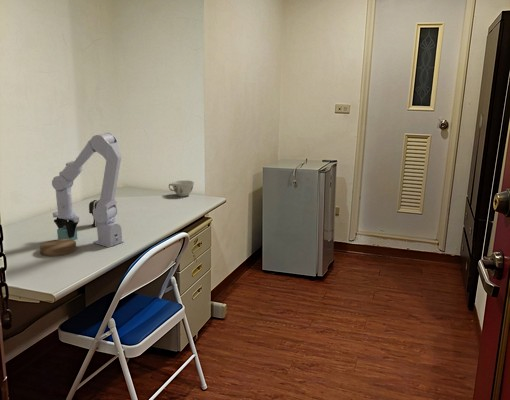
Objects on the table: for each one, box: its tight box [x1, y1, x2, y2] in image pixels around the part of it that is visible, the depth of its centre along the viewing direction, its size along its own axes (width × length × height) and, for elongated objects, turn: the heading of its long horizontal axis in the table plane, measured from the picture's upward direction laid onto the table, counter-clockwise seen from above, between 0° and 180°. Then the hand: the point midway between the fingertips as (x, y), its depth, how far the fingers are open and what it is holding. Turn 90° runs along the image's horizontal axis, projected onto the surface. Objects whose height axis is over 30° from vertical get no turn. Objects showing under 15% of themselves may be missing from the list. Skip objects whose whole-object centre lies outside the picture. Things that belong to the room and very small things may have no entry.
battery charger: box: [88, 199, 100, 228], centre depth 217 cm, size 7×4×11 cm, turn 176°
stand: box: [39, 238, 77, 257], centre depth 184 cm, size 13×13×2 cm
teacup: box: [168, 180, 195, 198], centre depth 276 cm, size 15×12×8 cm
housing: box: [56, 226, 78, 241], centre depth 196 cm, size 4×6×6 cm
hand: (67, 236), depth 196 cm, fingers closed on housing, 4 cm apart
